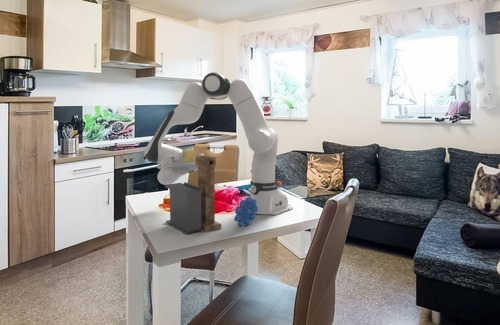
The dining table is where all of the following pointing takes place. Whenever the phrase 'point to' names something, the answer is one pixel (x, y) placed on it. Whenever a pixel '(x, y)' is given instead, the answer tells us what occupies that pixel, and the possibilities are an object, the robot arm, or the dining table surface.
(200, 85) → the robot arm
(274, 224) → the dining table surface
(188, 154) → the yellow rectangular bar
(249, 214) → the grapes
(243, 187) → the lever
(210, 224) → the stand
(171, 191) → the cradle
